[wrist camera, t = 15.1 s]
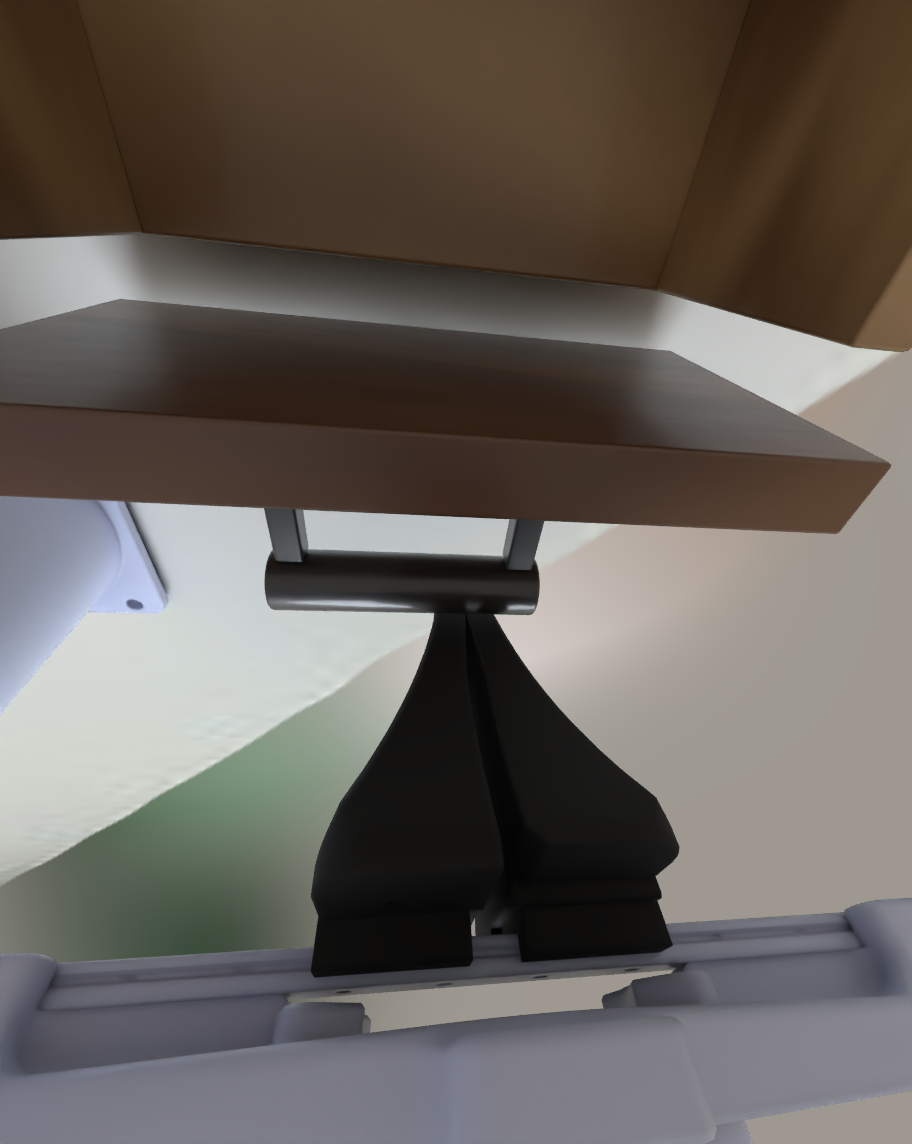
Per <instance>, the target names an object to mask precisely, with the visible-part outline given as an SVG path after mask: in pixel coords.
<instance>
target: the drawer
mask: <svg viewBox="0 0 912 1144" xmlns="http://www.w3.org/2000/svg"><path fill="white" fill-rule="evenodd" d="M129 234H149V235H158V236H167V237H176V238H185V239H194V240H203V241H212V242H221V243H230V244H239V245H248V246H257V247H266V248H275V249H284V250H293V251H302V252H311V253H320V254H329V255H338V256H347V257H356V258H365V259H374V260H383V261H392V262H401V263H410V264H419V265H428V266H437V267H446V268H455V269H464V270H473V271H482V272H491V273H500V274H509V275H518V276H527V277H536V278H545V279H554V280H563V281H572V282H581V283H590V284H599V285H608V286H617V287H626V288H635V289H644V290H653V291H659V292H662V293H665V294H669V295H672V296H676V297H679V298H683V299H686V300H690V301H693V302H697V303H700V304H704V305H707V306H711V307H714V308H718V309H721V310H725V311H728V312H732V313H735V314H738V315H742V316H745V317H749V318H752V319H756V320H759V321H763V322H766V323H770V324H773V325H777V326H780V327H784V328H787V329H791V330H794V331H798V332H801V333H805V334H808V335H812V336H815V337H819V338H822V339H826V340H829V341H833V342H836V343H840V344H843V345H847V346H850V347H855V348H865V349H875V350H885V351H895V352H904V351H908V350H909V349H910V348H912V0H0V240H6V239H31V238H56V237H80V236H105V235H129ZM890 467H891V464H890V463H889V462H887V461H885V460H883V459H881V458H879V457H877V456H875V455H873V454H871V453H869V452H867V451H865V450H863V449H861V448H860V447H858V446H856V445H854V444H852V443H850V442H848V441H846V440H844V439H842V438H840V437H838V436H835V435H834V434H832V433H830V432H828V431H826V430H824V429H822V428H820V427H818V426H816V425H814V424H812V423H811V422H808V421H807V420H805V419H803V418H801V417H799V416H797V415H795V414H793V413H791V412H789V411H787V410H785V409H783V408H781V407H779V406H777V405H775V404H773V403H771V402H769V401H767V400H765V399H764V398H762V397H760V396H758V395H756V394H754V393H752V392H750V391H748V390H746V389H744V388H742V387H740V386H738V385H736V384H734V383H732V382H730V381H728V380H726V379H724V378H722V377H720V376H718V375H716V374H714V373H712V372H711V371H709V370H707V369H705V368H703V367H701V366H699V365H697V364H695V363H693V362H691V361H689V360H687V359H685V358H683V357H681V356H679V355H677V354H675V353H673V352H671V351H665V350H654V349H643V348H633V347H622V346H612V345H601V344H591V343H580V342H569V341H559V340H548V339H538V338H527V337H517V336H506V335H495V334H485V333H474V332H464V331H453V330H443V329H432V328H422V327H411V326H400V325H390V324H379V323H369V322H358V321H348V320H337V319H326V318H316V317H305V316H295V315H284V314H274V313H263V312H252V311H242V310H231V309H221V308H210V307H200V306H189V305H178V304H168V303H157V302H147V301H136V300H126V299H118V300H114V301H110V302H106V303H102V304H98V305H94V306H90V307H87V308H83V309H79V310H75V311H71V312H67V313H63V314H59V315H55V316H51V317H47V318H43V319H40V320H36V321H32V322H28V323H24V324H20V325H16V326H12V327H8V328H4V329H0V496H10V497H32V498H54V499H76V500H98V501H120V502H142V503H165V504H187V505H209V506H231V507H253V508H264V510H265V515H266V519H267V524H268V528H269V533H270V538H271V542H272V547H273V550H272V551H271V553H270V555H269V557H268V561H267V564H266V570H265V594H266V599H267V603H268V605H269V607H270V608H271V609H273V610H303V611H354V612H405V613H456V614H508V615H531V614H533V612H534V611H535V609H536V606H537V603H538V597H539V588H540V587H539V586H540V582H539V581H540V580H539V571H538V566H537V563H536V561H535V559H534V558H535V554H536V550H537V546H538V543H539V539H540V535H541V531H542V527H543V524H544V521H562V522H584V523H606V524H628V525H629V524H630V525H651V526H674V527H695V528H696V527H697V528H717V529H739V530H761V531H785V532H805V533H827V534H836V533H838V532H840V531H841V529H842V528H843V527H844V526H845V524H846V523H847V522H848V520H849V519H850V518H851V517H852V516H853V514H854V513H855V512H856V510H857V509H858V508H859V506H860V505H861V504H862V503H863V502H864V500H865V499H866V497H867V496H868V495H869V494H870V493H871V491H872V490H873V489H874V488H875V486H876V485H877V484H878V483H879V481H880V480H881V479H882V478H883V476H884V475H885V474H886V473H887V471H888V470H889V469H890ZM303 510H319V511H341V512H363V513H385V514H408V515H430V516H452V517H474V518H496V519H510V520H509V525H508V530H507V535H506V540H505V545H504V549H503V556H484V555H455V554H427V553H399V552H370V551H342V550H314V549H308V541H307V534H306V528H305V521H304V515H303Z"/></svg>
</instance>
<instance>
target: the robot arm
mask: <svg viewBox="0 0 912 1144" xmlns="http://www.w3.org/2000/svg"><path fill="white" fill-rule="evenodd" d="M138 601H139V602H138ZM167 604H168V598H167V596H166V593H165V591H164V589H163V587H162V584H161V582H160V580H159V578H158V576H157V573H156V571H155V569H154V567H153V564H152V562H151V560H150V558H149V556H148V553H147V551H146V549H145V547H144V544H143V542H142V540H141V538H140V535H139V533H138V531H137V529H136V527H135V524H134V522H133V520H132V518H131V515H130V513H129V511H128V509H127V507H126V504H125V502H120V501H98V500H76V499H54V498H32V497H10V496H0V714H1V713H2V712H3V711H4V710H5V708H6V707H7V706H8V705H9V704H10V703H11V701H12V700H13V699H14V698H15V697H16V695H17V694H18V693H19V692H20V691H21V690H22V688H23V687H24V686H25V685H26V684H27V683H28V681H29V680H30V679H31V678H32V677H33V676H34V674H35V673H36V672H37V671H38V670H39V668H40V667H41V666H42V665H43V664H44V663H45V661H46V660H47V659H48V658H49V657H50V656H51V654H52V653H53V652H54V651H55V650H56V648H57V647H58V646H59V645H60V644H61V643H62V641H63V640H64V639H65V638H66V637H67V636H68V634H69V633H70V632H71V631H72V630H73V628H74V627H75V626H76V625H77V624H78V623H79V621H80V620H81V619H82V618H83V617H84V616H85V614H86V613H87V612H105V613H160V612H162V611H163V610H164V609H165V607H166V606H167ZM678 853H679V844H678V842H677V840H676V837H675V835H674V833H673V830H672V828H671V825H670V823H669V821H668V819H667V817H666V815H665V813H664V812H663V810H662V808H661V806H660V804H659V802H658V800H657V798H656V797H655V796H654V795H652V794H651V793H650V792H649V791H648V790H646V789H645V788H644V787H643V786H641V785H640V784H639V783H638V782H636V781H635V780H634V779H633V778H631V777H630V776H629V775H628V774H626V773H625V772H624V771H623V770H622V769H620V768H619V767H618V766H617V765H616V764H615V763H614V762H612V761H611V760H610V759H609V758H608V757H607V756H606V755H605V754H604V753H603V752H601V751H600V750H599V749H598V748H597V747H596V746H595V745H594V744H593V743H592V742H591V741H590V740H589V739H588V738H587V737H586V736H585V735H584V734H583V733H582V732H581V731H580V730H579V729H578V728H577V727H576V726H575V725H574V724H573V723H572V722H571V721H570V720H569V719H568V718H567V716H566V715H565V714H564V713H563V712H562V711H561V710H560V709H559V708H558V706H557V705H556V704H555V703H554V702H553V701H552V699H551V698H550V697H549V696H548V695H547V693H546V692H545V691H544V690H543V688H542V687H541V686H540V685H539V683H538V682H537V681H536V680H535V678H534V677H533V676H532V674H531V673H530V671H529V670H528V669H527V667H526V666H525V664H524V663H523V662H522V660H521V659H520V657H519V656H518V654H517V653H516V651H515V649H514V648H513V646H512V645H511V643H510V641H509V640H508V639H507V637H506V635H505V633H504V632H503V630H502V628H501V627H500V625H499V623H498V621H497V620H496V618H495V616H494V614H456V613H434V621H433V625H432V629H431V633H430V636H429V639H428V643H427V646H426V649H425V652H424V654H423V657H422V660H421V662H420V665H419V667H418V670H417V673H416V675H415V677H414V679H413V682H412V684H411V686H410V689H409V691H408V693H407V695H406V697H405V699H404V701H403V703H402V705H401V707H400V709H399V711H398V712H397V714H396V716H395V718H394V720H393V722H392V724H391V725H390V727H389V729H388V731H387V732H386V734H385V736H384V737H383V739H382V741H381V742H380V744H379V745H378V747H377V749H376V751H375V752H374V754H373V755H372V757H371V758H370V760H369V761H368V763H367V765H366V766H365V768H364V769H363V771H362V772H361V774H360V775H359V776H358V778H357V779H356V780H355V782H354V784H353V785H352V786H351V788H350V789H349V791H348V792H347V793H346V795H345V796H344V798H343V799H342V800H341V802H340V803H339V806H338V808H337V811H336V813H335V815H334V817H333V819H332V821H331V823H330V826H329V828H328V830H327V832H326V835H325V837H324V840H323V842H322V845H321V848H320V850H319V854H318V857H317V861H316V865H315V871H314V877H313V884H312V892H311V898H312V901H313V903H314V906H315V908H316V911H317V913H318V924H317V930H316V937H315V944H314V947H302V948H287V949H270V950H255V951H240V952H224V953H209V954H193V955H179V956H163V957H148V958H132V959H116V960H101V961H85V962H71V963H57V961H56V960H55V959H53V958H51V957H49V956H46V955H42V954H34V953H13V954H0V1144H753V1142H752V1139H751V1136H750V1134H749V1131H748V1128H747V1125H746V1123H745V1120H748V1119H753V1118H759V1117H765V1116H771V1115H776V1114H782V1113H787V1112H794V1111H799V1110H805V1109H811V1108H816V1107H821V1106H828V1105H834V1104H839V1103H845V1102H851V1101H857V1100H862V1099H868V1098H874V1097H880V1096H886V1095H891V1094H897V1093H903V1092H909V1091H912V898H902V899H886V900H874V901H868V902H864V903H860V904H857V905H854V906H852V907H850V908H847V909H846V910H845V911H844V912H841V913H826V914H810V915H795V916H780V917H765V918H748V919H733V920H719V921H718V920H717V921H703V922H687V923H671V924H665V921H664V918H663V915H662V912H661V910H660V907H659V904H658V901H657V900H659V899H661V898H662V896H661V890H660V888H659V885H658V882H657V879H656V877H655V876H656V875H658V874H659V873H660V872H661V871H662V870H664V868H666V867H667V866H668V865H670V864H671V863H672V862H673V860H675V858H676V857H677V856H678ZM474 918H475V934H476V936H472V935H471V925H472V922H473V920H474ZM664 970H673V972H672V973H671V974H665V975H659V976H653V977H648V978H642V979H636V980H633V981H632V983H631V984H630V985H629V986H627V987H625V988H623V989H621V990H618V991H615V992H612V993H609V994H606V995H604V996H603V998H602V1003H603V1007H604V1009H591V1010H577V1011H564V1012H552V1013H541V1014H530V1015H519V1016H509V1017H499V1018H489V1019H480V1020H472V1021H463V1022H454V1023H446V1024H438V1025H430V1026H422V1027H414V1028H406V1029H397V1030H390V1031H381V1032H373V1033H370V1026H371V1020H370V1018H369V1017H368V1016H367V1015H364V1013H365V1012H364V1011H365V1008H364V1006H363V1005H362V1003H332V1002H327V1003H326V1002H306V1003H296V1004H291V1003H290V1002H289V1001H288V1000H293V999H306V998H318V997H331V996H344V995H357V994H370V993H383V992H395V991H408V990H420V989H433V988H446V987H459V986H471V985H485V984H498V983H510V982H523V981H536V980H549V979H560V978H574V977H587V976H600V975H613V974H625V973H638V972H651V971H664Z"/></svg>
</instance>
